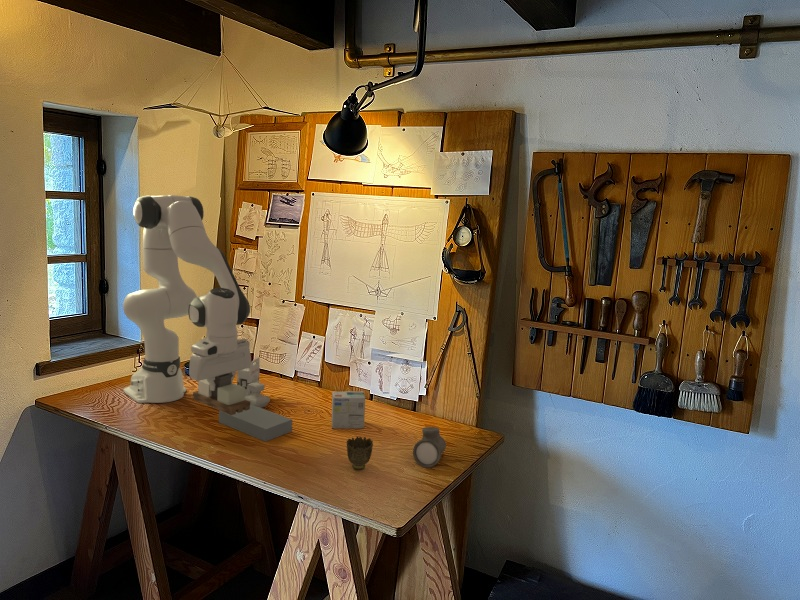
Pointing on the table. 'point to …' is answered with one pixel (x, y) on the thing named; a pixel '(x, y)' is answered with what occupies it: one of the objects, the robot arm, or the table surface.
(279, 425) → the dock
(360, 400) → the light bulb box
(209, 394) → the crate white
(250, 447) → the table surface
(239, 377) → the ink box
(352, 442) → the cup
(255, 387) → the stamp
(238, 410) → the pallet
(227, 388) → the crate sage
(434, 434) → the pipe fitting
